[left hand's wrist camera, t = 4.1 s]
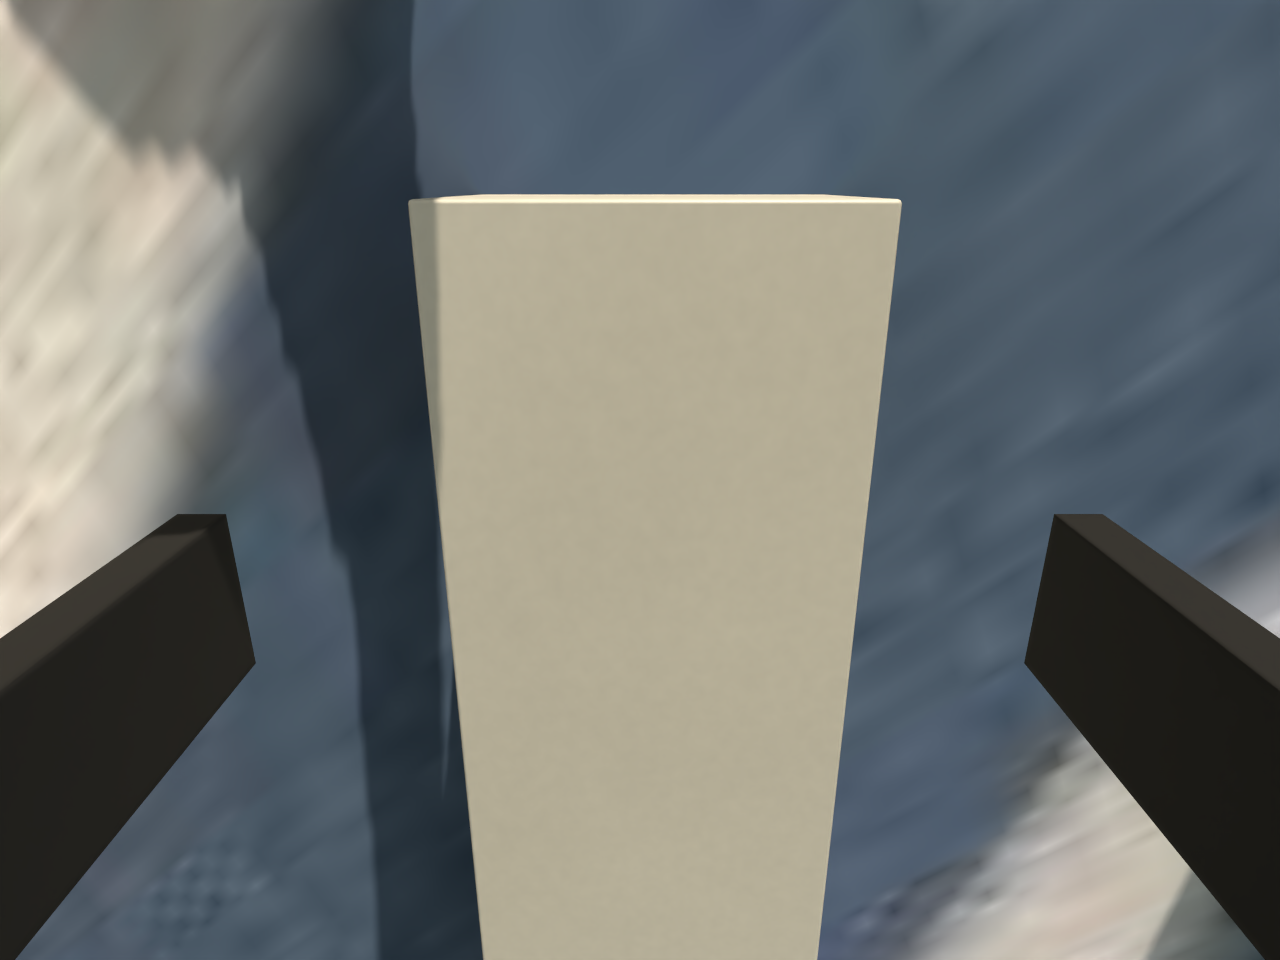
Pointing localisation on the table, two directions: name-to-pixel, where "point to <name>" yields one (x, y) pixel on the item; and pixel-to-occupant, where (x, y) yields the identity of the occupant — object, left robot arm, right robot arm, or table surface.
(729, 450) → the wide beam
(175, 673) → the left robot arm
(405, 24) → the table surface
